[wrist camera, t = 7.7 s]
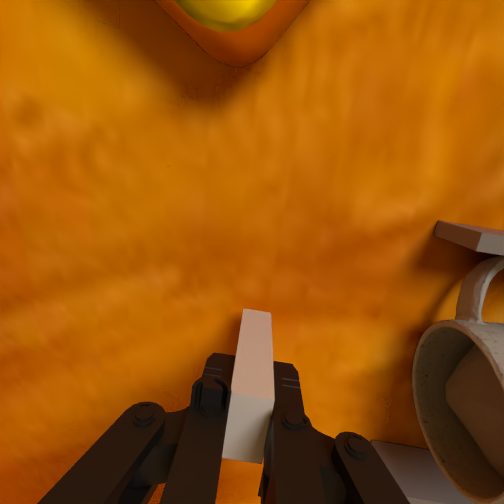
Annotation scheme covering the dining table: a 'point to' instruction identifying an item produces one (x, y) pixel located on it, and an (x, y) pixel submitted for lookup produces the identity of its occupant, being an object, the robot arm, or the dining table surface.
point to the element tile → (234, 25)
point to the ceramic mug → (465, 392)
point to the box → (421, 460)
